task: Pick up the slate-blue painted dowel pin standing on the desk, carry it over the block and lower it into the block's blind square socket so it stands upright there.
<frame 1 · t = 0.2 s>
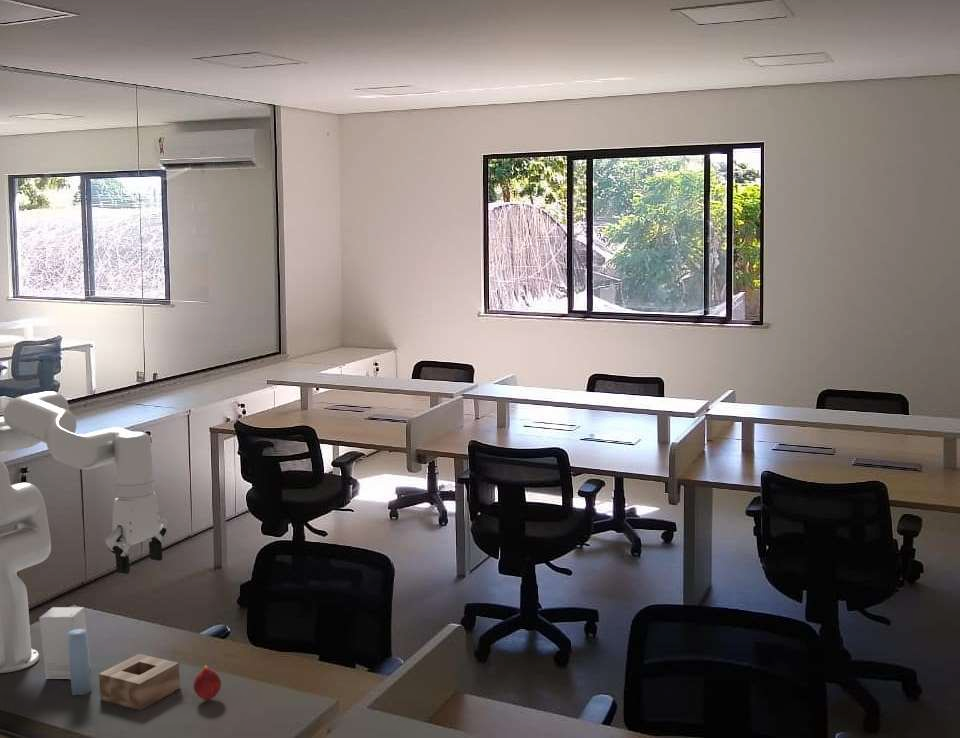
hand: (140, 566, 226), 31 cm above the table, tool pointing down, fingers open, 9 cm apart
pin: (81, 691, 234), on the table
skincare box: (67, 675, 243), on the table
onion: (208, 701, 229), on the table
bore block: (140, 693, 233), on the table
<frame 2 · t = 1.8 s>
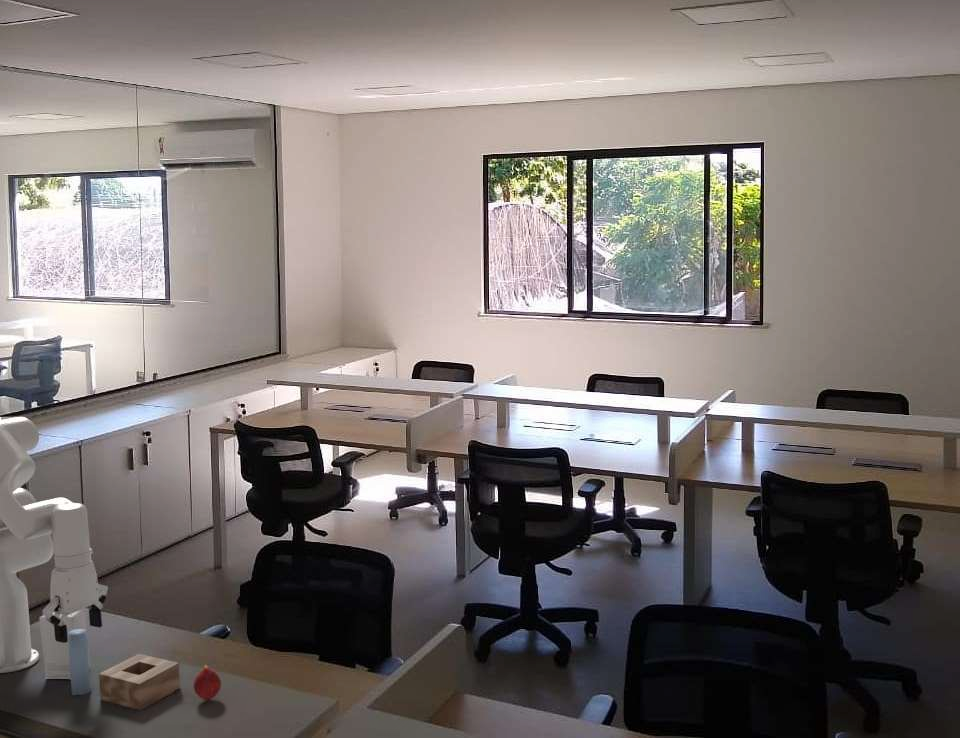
hand: (79, 633, 232), 14 cm above the table, tool pointing down, fingers open, 9 cm apart
nothing on the table moved.
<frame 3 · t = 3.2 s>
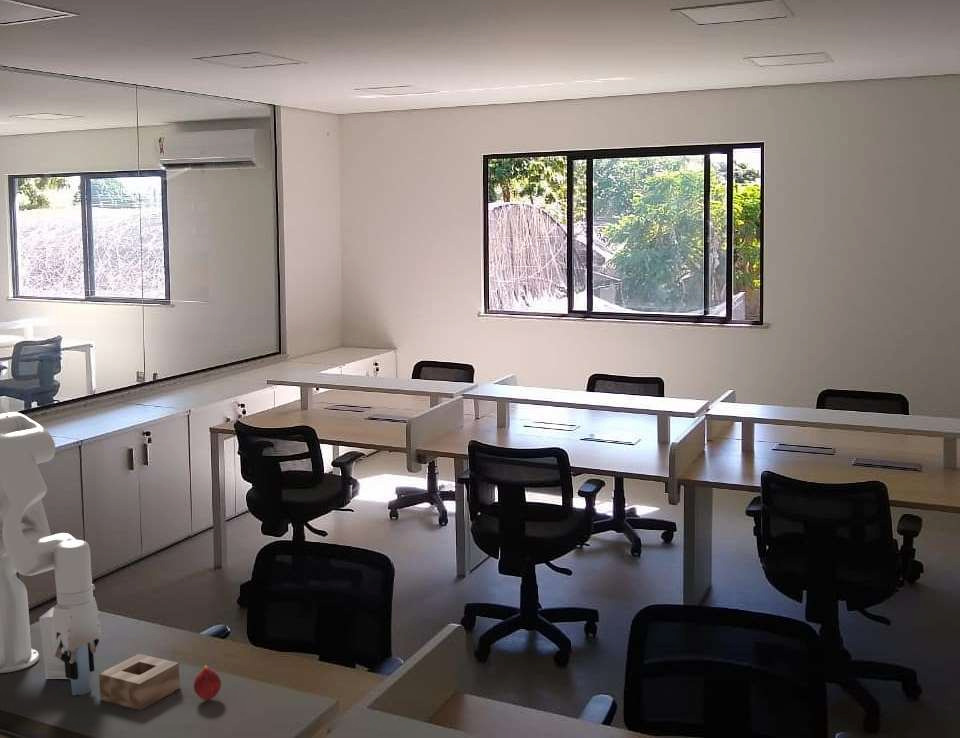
hand: (80, 673, 234), 4 cm above the table, tool pointing down, fingers closed on pin, 4 cm apart
pin: (81, 691, 234), on the table, touching gripper
everything else where it was.
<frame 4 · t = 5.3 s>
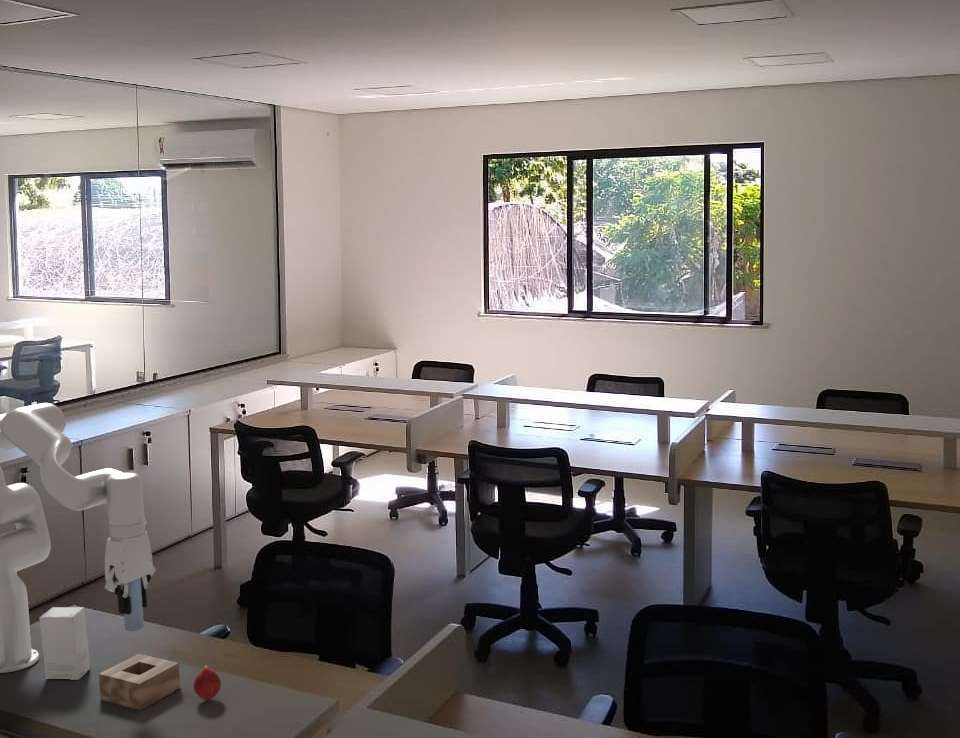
hand: (133, 609, 230), 20 cm above the table, tool pointing down, fingers closed on pin, 4 cm apart
pin: (134, 627, 231), point 16 cm above the table, touching gripper
everything else where it was.
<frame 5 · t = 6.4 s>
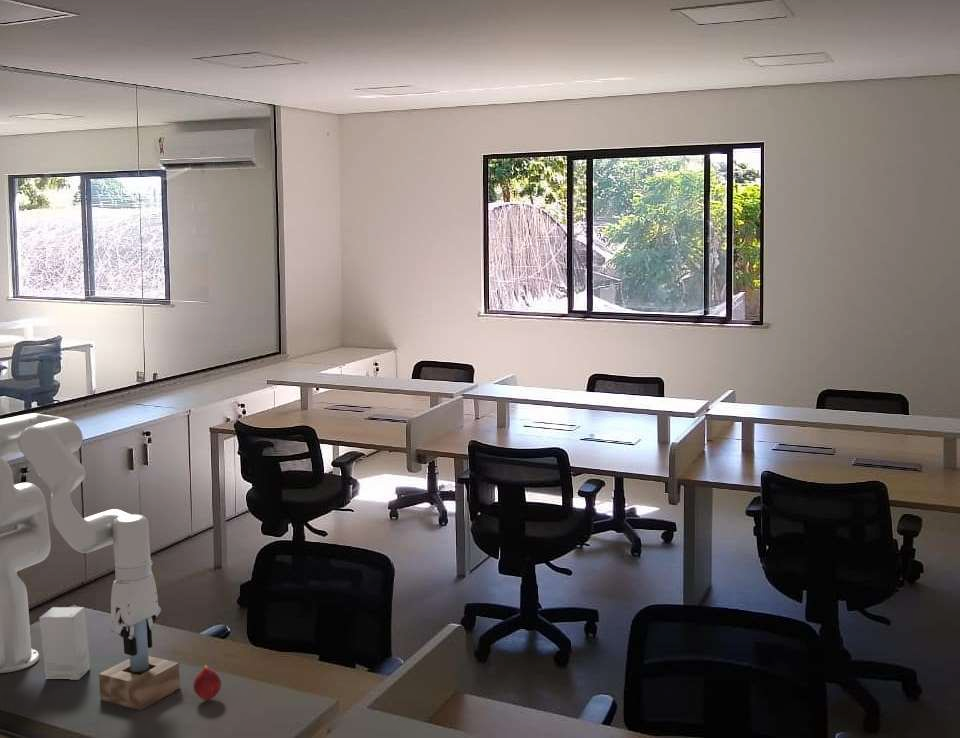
hand: (138, 649, 232), 10 cm above the table, tool pointing down, fingers closed on pin, 4 cm apart
pin: (139, 668, 232), point 6 cm above the table, touching gripper
everything else where it was.
when the fingers open (7 cm above the table, at t = 7.3 s): pin drops 2 cm, resting on bore block.
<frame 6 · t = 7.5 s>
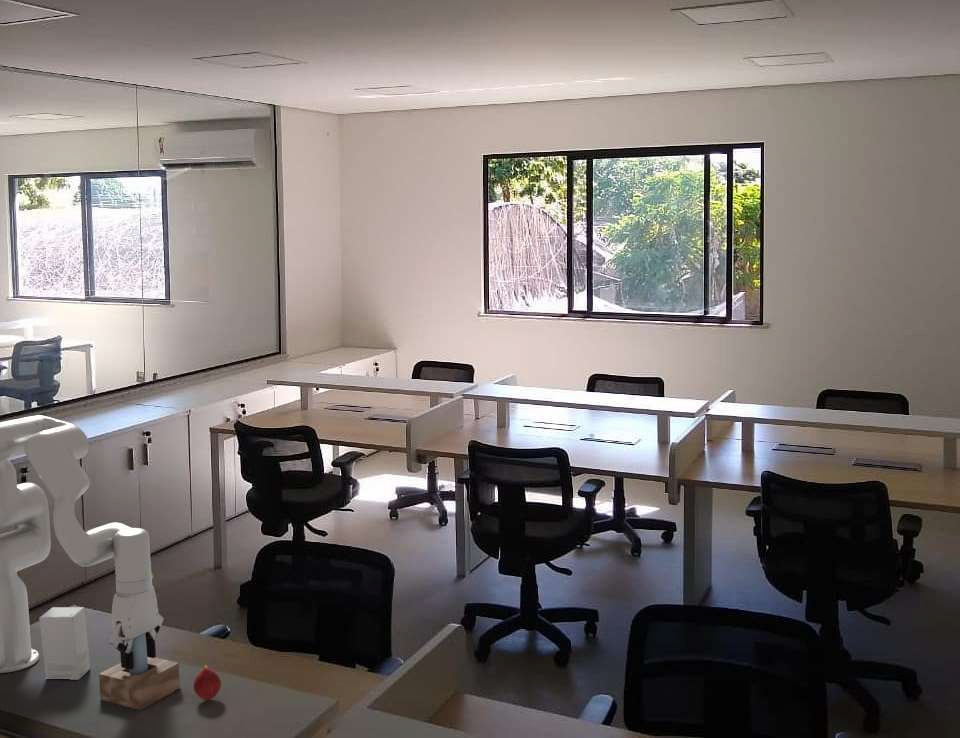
hand: (138, 661, 232), 8 cm above the table, tool pointing down, fingers open, 6 cm apart
pin: (140, 689, 233), point 1 cm above the table, touching bore block
everything else where it was.
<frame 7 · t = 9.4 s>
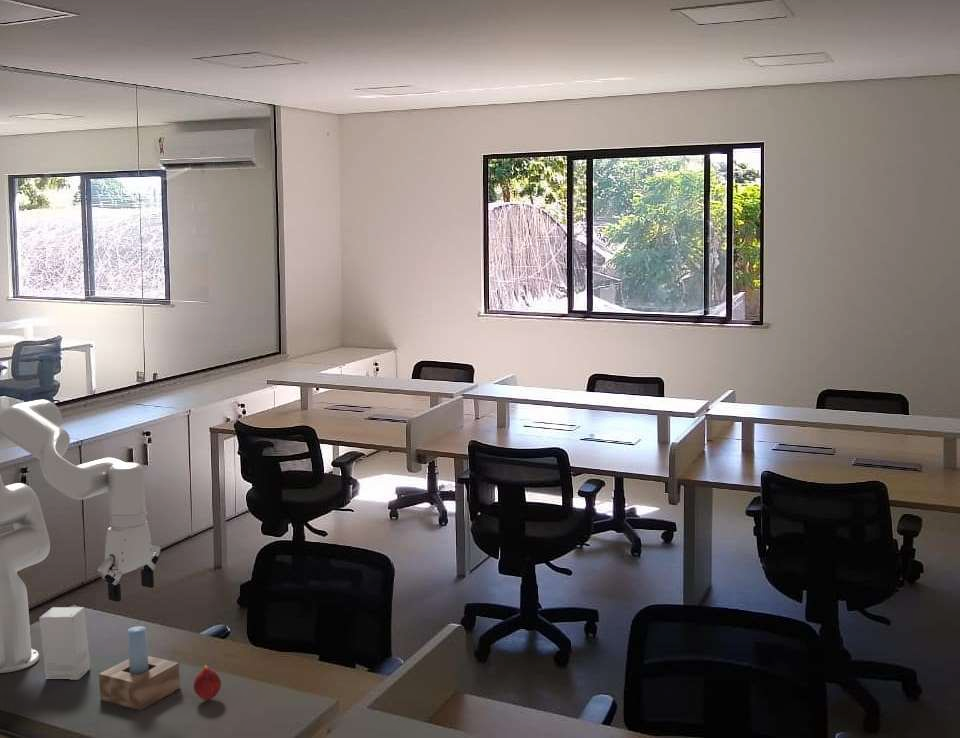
hand: (131, 593, 232), 23 cm above the table, tool pointing down, fingers open, 9 cm apart
nothing on the table moved.
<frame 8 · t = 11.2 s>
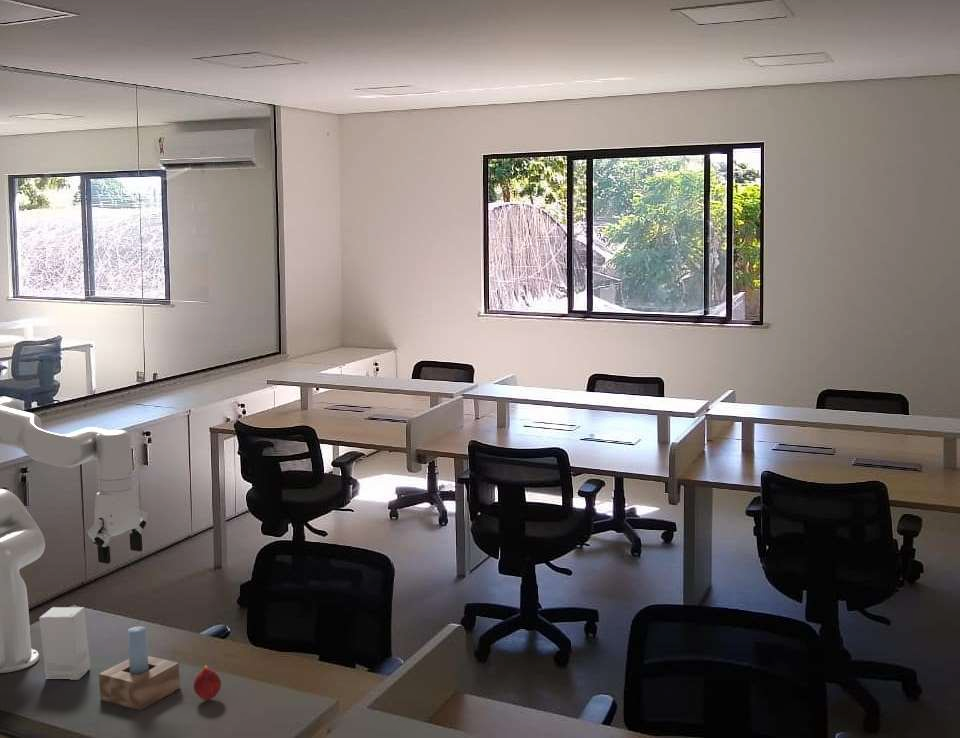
hand: (120, 556, 240), 28 cm above the table, tool pointing down, fingers open, 9 cm apart
nothing on the table moved.
at the end: pin 0.0 cm off-centre on the bore block, point 1.0 cm above the bore block's base; pin tilted 0°; the gripper is holding nothing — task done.
